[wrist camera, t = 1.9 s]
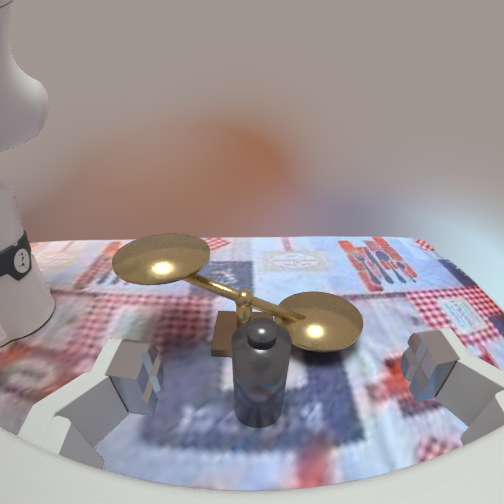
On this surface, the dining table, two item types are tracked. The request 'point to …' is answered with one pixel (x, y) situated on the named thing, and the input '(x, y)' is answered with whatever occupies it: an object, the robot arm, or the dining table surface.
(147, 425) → the dining table surface
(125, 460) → the dining table surface
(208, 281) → the balance
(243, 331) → the iron weight
